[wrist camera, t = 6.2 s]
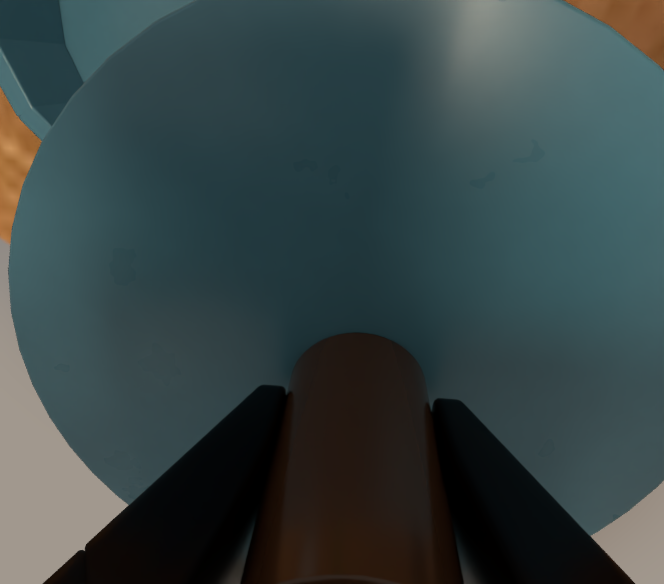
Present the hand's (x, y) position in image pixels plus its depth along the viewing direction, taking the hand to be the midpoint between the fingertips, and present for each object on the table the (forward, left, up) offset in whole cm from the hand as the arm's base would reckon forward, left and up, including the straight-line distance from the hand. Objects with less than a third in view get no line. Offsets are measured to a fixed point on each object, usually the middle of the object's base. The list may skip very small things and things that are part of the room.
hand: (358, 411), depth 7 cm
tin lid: (0, 0, -1) cm, 1 cm away
